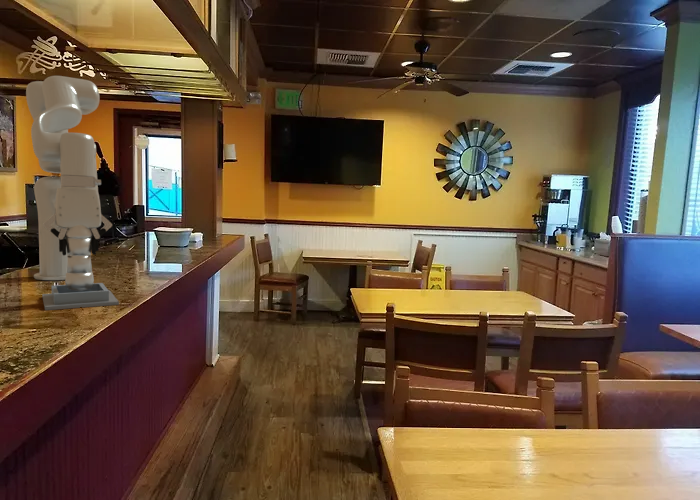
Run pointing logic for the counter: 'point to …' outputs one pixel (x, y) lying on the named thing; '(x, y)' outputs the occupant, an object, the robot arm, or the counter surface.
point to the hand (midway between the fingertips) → (79, 253)
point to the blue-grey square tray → (78, 297)
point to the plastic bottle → (79, 258)
